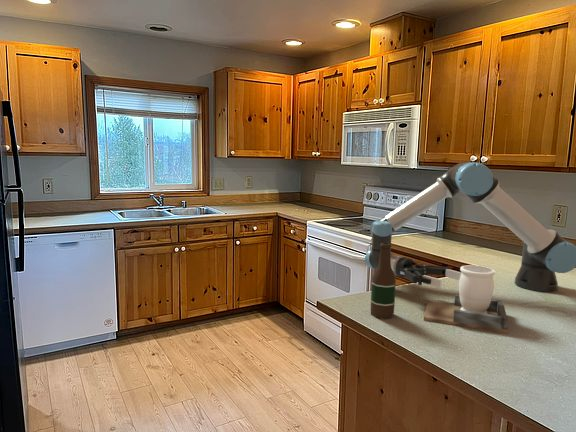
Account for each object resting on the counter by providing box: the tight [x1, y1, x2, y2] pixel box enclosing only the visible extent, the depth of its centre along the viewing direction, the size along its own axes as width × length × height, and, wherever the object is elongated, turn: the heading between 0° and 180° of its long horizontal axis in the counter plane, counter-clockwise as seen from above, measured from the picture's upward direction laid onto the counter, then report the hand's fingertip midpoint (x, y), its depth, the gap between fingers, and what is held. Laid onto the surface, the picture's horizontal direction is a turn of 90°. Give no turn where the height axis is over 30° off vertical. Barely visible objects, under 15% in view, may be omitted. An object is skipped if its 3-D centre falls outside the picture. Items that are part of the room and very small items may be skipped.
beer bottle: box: [370, 243, 397, 320], centre depth 137 cm, size 8×8×24 cm
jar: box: [458, 264, 496, 314], centre depth 138 cm, size 11×10×15 cm
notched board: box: [423, 294, 509, 334], centre depth 138 cm, size 24×17×4 cm
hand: (452, 280), depth 142 cm, fingers open, 13 cm apart
